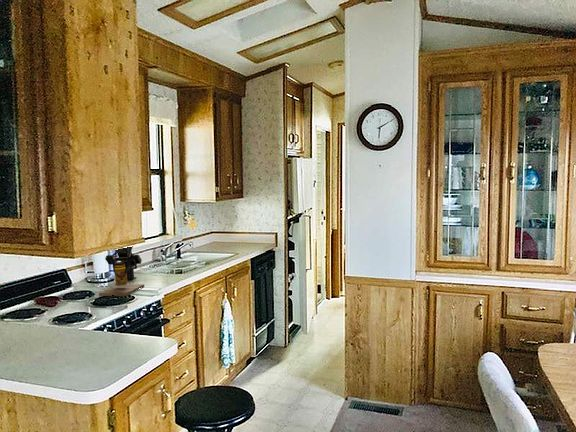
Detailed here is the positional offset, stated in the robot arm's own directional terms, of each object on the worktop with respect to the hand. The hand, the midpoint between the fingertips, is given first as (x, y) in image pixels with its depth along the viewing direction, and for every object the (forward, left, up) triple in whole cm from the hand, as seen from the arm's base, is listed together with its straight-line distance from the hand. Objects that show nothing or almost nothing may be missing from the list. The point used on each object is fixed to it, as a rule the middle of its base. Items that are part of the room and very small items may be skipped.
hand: (119, 272), depth 275 cm
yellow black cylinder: (-1, -1, -7) cm, 7 cm away
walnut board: (-1, 0, -11) cm, 11 cm away
